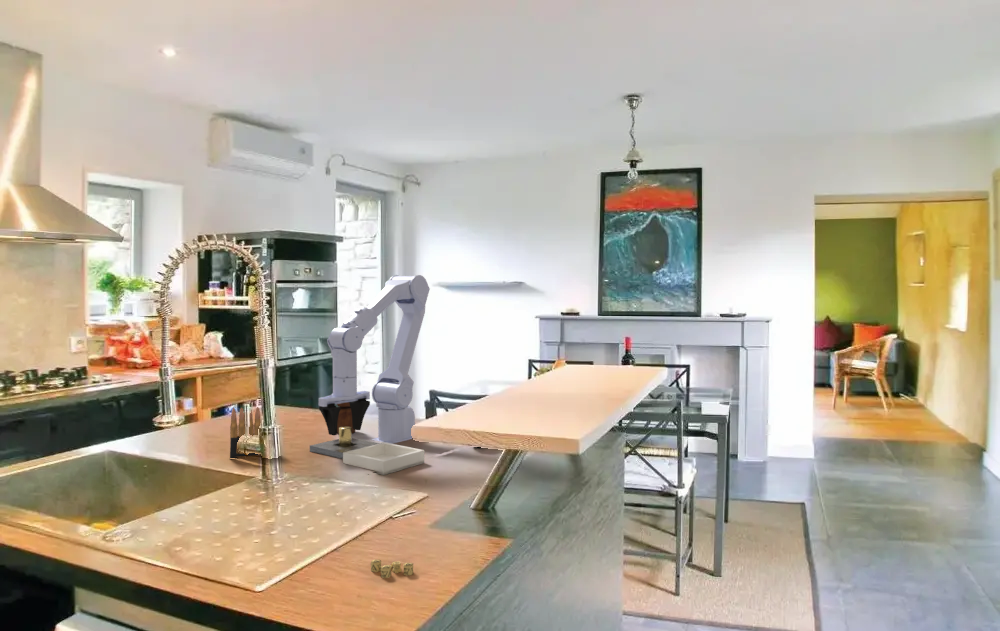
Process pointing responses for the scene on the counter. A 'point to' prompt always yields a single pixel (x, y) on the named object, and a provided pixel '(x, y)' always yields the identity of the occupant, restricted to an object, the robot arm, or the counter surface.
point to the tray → (384, 457)
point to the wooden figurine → (345, 416)
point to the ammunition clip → (242, 431)
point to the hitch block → (335, 450)
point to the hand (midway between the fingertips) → (344, 432)
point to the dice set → (387, 568)
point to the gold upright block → (345, 437)
